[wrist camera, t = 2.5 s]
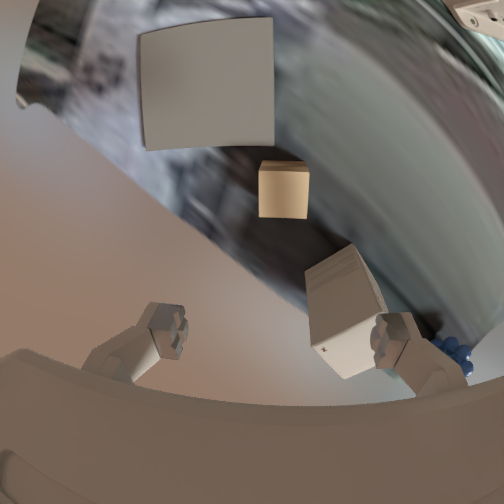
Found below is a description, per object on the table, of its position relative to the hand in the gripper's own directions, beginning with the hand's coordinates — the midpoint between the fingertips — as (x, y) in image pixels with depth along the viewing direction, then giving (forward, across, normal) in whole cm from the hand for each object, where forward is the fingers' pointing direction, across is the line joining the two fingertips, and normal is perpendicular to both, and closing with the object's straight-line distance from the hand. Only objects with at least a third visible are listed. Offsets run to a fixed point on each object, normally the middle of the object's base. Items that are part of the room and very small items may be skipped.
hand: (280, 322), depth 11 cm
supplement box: (+21, -8, +12) cm, 26 cm away
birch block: (+21, 0, 0) cm, 21 cm away
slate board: (+21, +8, -11) cm, 25 cm away
